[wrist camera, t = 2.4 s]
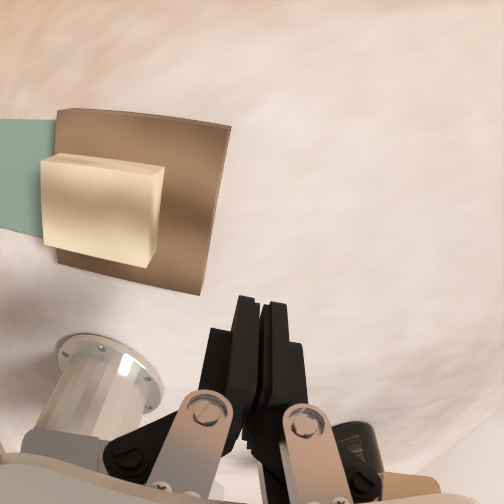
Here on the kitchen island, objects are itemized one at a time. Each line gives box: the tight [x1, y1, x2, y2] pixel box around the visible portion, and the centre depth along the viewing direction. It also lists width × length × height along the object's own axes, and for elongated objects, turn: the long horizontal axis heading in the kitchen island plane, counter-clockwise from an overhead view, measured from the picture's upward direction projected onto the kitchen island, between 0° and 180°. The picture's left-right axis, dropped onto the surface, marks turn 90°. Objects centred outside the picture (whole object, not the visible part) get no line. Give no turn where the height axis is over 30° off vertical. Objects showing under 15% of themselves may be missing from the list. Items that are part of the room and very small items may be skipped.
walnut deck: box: [54, 108, 232, 296], centre depth 21 cm, size 12×12×2 cm
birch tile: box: [41, 153, 165, 268], centre depth 19 cm, size 6×8×2 cm
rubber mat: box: [0, 120, 56, 238], centre depth 21 cm, size 10×11×1 cm
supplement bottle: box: [332, 422, 384, 473], centre depth 30 cm, size 7×7×12 cm
